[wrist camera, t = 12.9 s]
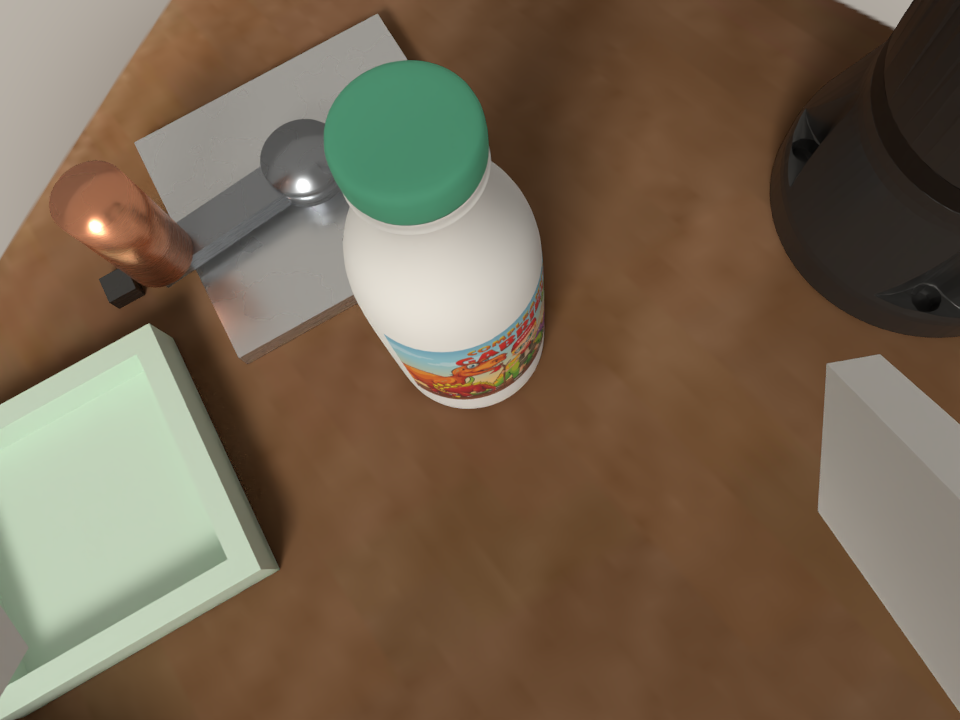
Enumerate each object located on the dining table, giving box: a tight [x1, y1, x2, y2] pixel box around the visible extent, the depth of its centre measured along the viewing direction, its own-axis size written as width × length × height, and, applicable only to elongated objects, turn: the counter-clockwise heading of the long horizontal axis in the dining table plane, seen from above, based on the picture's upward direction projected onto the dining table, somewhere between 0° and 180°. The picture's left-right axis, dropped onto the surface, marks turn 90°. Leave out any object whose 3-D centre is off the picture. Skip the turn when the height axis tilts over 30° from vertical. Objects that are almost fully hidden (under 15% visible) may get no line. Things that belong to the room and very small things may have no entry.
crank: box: [49, 119, 341, 288], centre depth 37 cm, size 13×4×8 cm, turn 126°
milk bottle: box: [324, 60, 544, 409], centre depth 30 cm, size 8×8×20 cm
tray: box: [0, 323, 280, 720], centre depth 38 cm, size 14×14×3 cm
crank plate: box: [99, 14, 407, 364], centre depth 42 cm, size 21×15×1 cm
